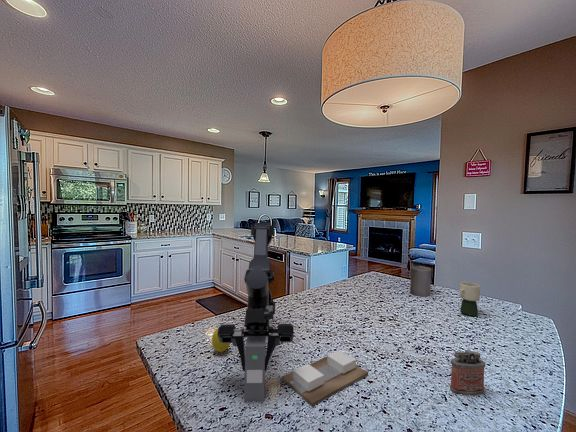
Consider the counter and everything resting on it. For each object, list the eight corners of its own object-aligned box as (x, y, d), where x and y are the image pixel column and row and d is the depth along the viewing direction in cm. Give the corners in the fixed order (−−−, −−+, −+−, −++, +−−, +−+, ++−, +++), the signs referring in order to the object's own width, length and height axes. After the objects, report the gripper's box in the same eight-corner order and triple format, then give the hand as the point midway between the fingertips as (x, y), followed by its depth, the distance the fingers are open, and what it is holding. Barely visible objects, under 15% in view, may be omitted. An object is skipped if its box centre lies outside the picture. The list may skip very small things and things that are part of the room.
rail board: (281, 379, 72) (281, 376, 72) (335, 355, 84) (335, 352, 84) (311, 406, 63) (312, 403, 63) (368, 375, 74) (368, 372, 74)
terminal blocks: (293, 378, 71) (293, 370, 71) (339, 357, 81) (339, 350, 81) (308, 391, 66) (308, 382, 66) (355, 367, 76) (355, 359, 76)
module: (246, 387, 69) (247, 336, 68) (264, 387, 69) (265, 336, 69) (244, 402, 64) (245, 346, 63) (263, 401, 64) (265, 346, 63)
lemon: (223, 345, 89) (223, 321, 89) (234, 351, 86) (234, 326, 85) (208, 352, 85) (208, 327, 84) (219, 359, 81) (219, 332, 81)
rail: (289, 383, 69) (289, 381, 69) (344, 358, 81) (344, 356, 81) (302, 394, 65) (302, 392, 65) (357, 366, 77) (357, 364, 77)
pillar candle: (406, 291, 148) (407, 263, 147) (422, 290, 150) (423, 263, 149) (417, 297, 139) (418, 268, 138) (435, 296, 140) (436, 267, 139)
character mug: (470, 309, 123) (472, 280, 122) (486, 316, 116) (487, 285, 115) (451, 312, 119) (452, 282, 119) (466, 319, 113) (467, 287, 112)
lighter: (477, 386, 70) (479, 347, 70) (487, 395, 67) (489, 355, 67) (446, 386, 70) (448, 347, 70) (455, 395, 67) (456, 355, 66)
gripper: (218, 293, 69) (208, 361, 58) (293, 292, 70) (296, 359, 59) (224, 312, 77) (216, 375, 67) (291, 311, 78) (293, 373, 68)
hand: (254, 370), depth 65 cm, fingers closed on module, 5 cm apart
